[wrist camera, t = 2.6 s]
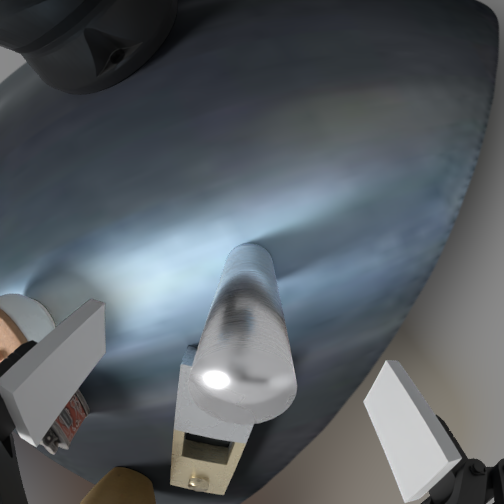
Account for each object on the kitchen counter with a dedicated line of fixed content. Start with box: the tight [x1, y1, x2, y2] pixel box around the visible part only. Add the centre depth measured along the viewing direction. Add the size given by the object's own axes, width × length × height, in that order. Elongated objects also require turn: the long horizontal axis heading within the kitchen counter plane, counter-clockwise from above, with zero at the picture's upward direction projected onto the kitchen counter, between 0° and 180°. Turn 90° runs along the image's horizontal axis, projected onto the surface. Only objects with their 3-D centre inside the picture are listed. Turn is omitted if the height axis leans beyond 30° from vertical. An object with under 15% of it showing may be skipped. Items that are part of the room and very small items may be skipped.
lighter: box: [39, 389, 90, 454], centre depth 24 cm, size 8×3×10 cm, turn 10°
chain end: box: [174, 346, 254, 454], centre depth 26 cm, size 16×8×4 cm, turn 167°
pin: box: [188, 243, 297, 425], centre depth 17 cm, size 4×4×15 cm
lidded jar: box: [0, 294, 56, 363], centre depth 22 cm, size 11×11×9 cm
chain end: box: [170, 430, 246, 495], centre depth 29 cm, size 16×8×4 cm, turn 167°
